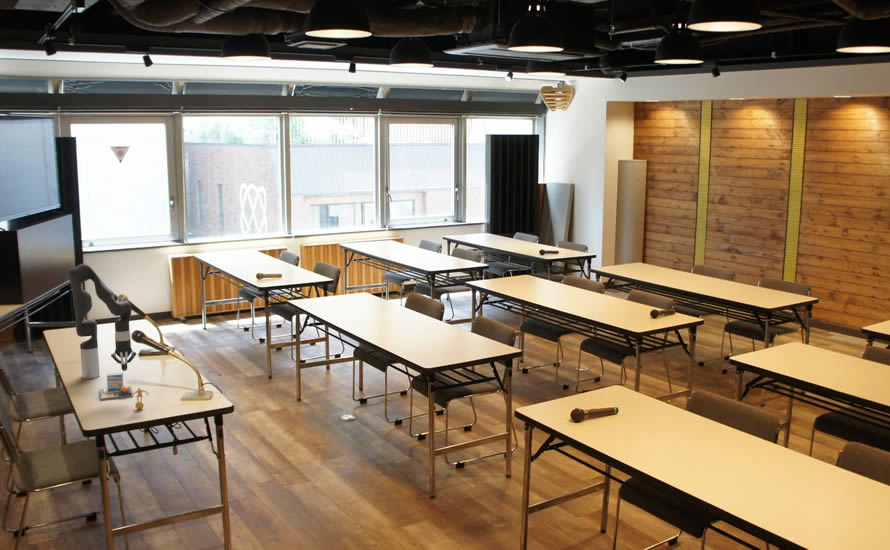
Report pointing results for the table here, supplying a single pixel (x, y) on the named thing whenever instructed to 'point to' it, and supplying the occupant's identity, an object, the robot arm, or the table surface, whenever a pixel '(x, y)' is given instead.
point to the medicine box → (114, 381)
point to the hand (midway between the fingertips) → (124, 370)
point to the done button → (125, 388)
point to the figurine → (139, 404)
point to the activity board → (114, 394)
